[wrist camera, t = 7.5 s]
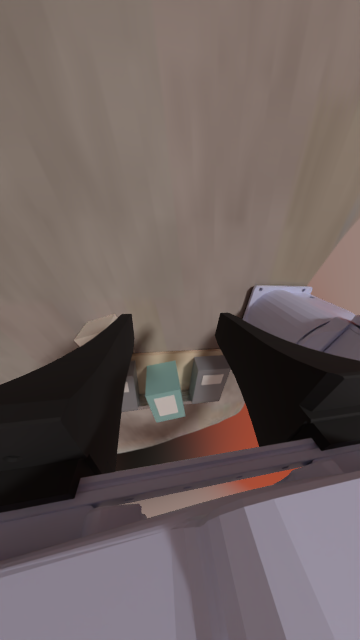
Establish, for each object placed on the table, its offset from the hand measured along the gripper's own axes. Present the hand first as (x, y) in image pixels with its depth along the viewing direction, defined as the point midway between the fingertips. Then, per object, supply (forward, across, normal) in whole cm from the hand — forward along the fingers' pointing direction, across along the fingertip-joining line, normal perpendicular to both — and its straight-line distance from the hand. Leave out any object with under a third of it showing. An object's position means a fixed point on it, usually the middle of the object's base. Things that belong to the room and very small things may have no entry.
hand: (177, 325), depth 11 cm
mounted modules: (+10, 0, +18) cm, 21 cm away
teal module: (+9, 0, +18) cm, 20 cm away
